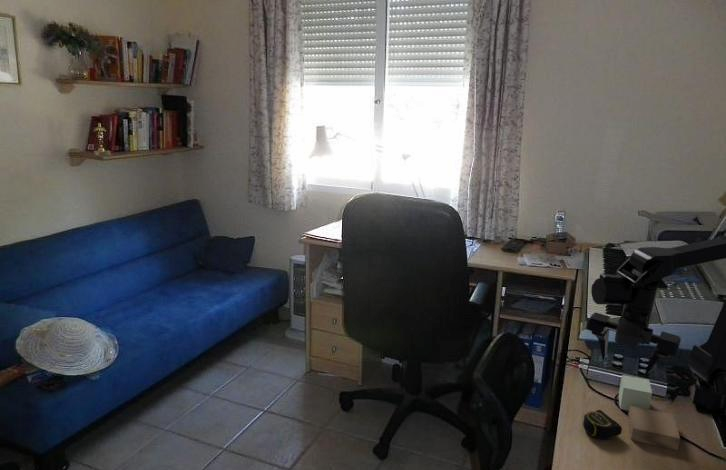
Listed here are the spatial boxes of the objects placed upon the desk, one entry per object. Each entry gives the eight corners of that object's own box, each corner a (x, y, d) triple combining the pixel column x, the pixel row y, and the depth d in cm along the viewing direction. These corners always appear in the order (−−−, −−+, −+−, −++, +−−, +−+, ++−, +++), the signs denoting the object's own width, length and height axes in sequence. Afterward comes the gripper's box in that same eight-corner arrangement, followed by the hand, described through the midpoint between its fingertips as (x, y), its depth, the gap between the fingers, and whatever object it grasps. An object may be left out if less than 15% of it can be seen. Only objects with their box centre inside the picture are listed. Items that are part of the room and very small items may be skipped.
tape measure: (622, 439, 115) (624, 424, 114) (596, 445, 113) (599, 431, 112) (599, 420, 121) (602, 406, 120) (575, 426, 119) (577, 412, 118)
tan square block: (671, 425, 119) (673, 414, 119) (677, 450, 111) (680, 438, 111) (627, 416, 123) (629, 405, 122) (631, 439, 115) (633, 428, 114)
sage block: (645, 401, 129) (649, 379, 127) (648, 415, 123) (652, 393, 122) (618, 395, 131) (621, 374, 129) (620, 409, 125) (623, 387, 124)
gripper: (586, 303, 115) (573, 365, 120) (682, 329, 105) (664, 396, 109) (598, 289, 124) (586, 347, 128) (688, 312, 114) (671, 375, 118)
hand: (624, 366), depth 121 cm, fingers open, 9 cm apart
